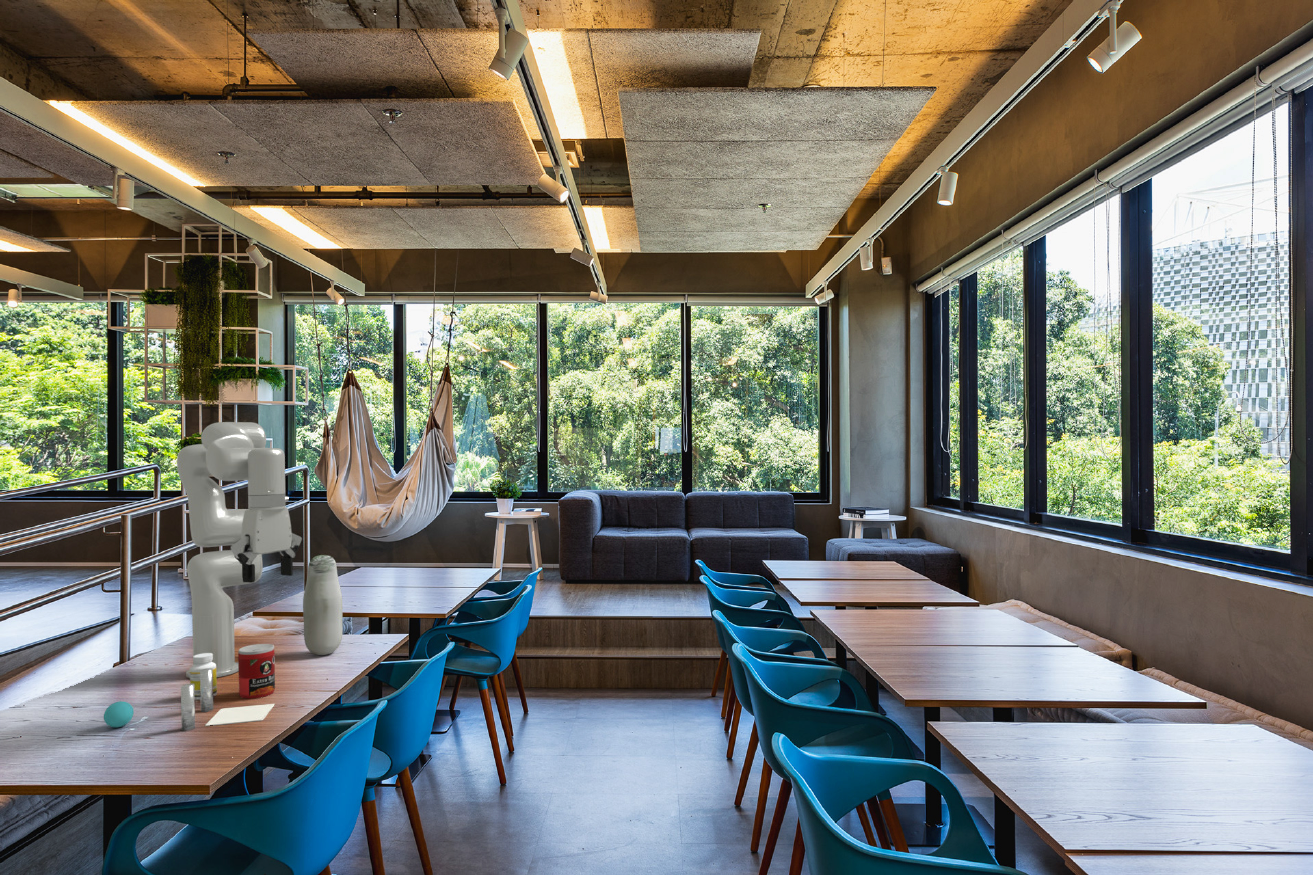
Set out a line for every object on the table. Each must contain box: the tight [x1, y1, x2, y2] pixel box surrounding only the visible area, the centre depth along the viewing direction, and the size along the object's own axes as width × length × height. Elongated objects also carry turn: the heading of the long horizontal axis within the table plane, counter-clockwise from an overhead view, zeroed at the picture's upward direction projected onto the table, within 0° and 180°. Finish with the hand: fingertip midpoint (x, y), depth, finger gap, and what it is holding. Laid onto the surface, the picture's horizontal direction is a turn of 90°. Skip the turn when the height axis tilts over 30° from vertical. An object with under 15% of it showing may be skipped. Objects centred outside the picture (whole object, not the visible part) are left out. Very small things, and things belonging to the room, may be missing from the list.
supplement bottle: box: [189, 653, 218, 701], centre depth 184 cm, size 5×5×10 cm
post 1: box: [180, 683, 196, 732], centre depth 162 cm, size 2×2×9 cm
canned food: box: [237, 643, 276, 700], centre depth 185 cm, size 8×8×11 cm
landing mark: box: [205, 703, 275, 727], centre depth 170 cm, size 11×11×1 cm
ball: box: [103, 700, 135, 728], centre depth 164 cm, size 5×5×5 cm
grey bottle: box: [302, 554, 343, 656], centre depth 221 cm, size 10×10×28 cm
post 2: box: [200, 668, 214, 713], centre depth 174 cm, size 2×2×9 cm
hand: (268, 578), depth 175 cm, fingers open, 9 cm apart
